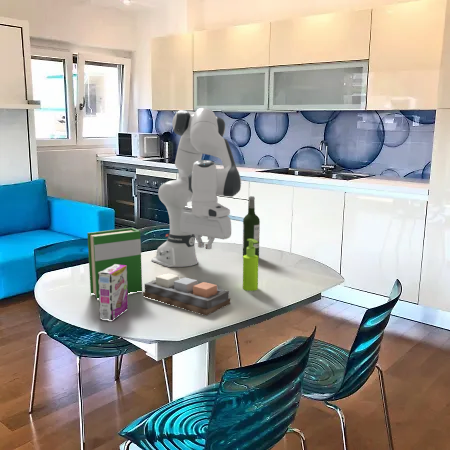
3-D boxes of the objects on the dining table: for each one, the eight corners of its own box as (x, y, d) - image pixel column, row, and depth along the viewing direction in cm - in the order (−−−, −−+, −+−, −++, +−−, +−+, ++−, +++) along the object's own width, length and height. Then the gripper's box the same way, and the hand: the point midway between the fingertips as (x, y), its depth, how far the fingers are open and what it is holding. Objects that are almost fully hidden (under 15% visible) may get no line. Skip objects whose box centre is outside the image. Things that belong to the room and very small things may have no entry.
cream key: (156, 285, 182) (155, 276, 181) (167, 281, 187) (166, 273, 186) (167, 289, 178) (167, 279, 178) (178, 284, 183) (178, 275, 182)
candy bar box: (112, 322, 158) (110, 273, 155) (99, 320, 160) (96, 272, 156) (129, 310, 169) (127, 264, 165) (116, 308, 170) (114, 263, 167)
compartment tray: (142, 297, 181) (142, 284, 180) (168, 287, 192) (168, 275, 191) (206, 315, 164) (206, 301, 163) (230, 303, 175) (230, 290, 174)
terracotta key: (193, 295, 171) (193, 286, 171) (203, 291, 176) (203, 281, 175) (206, 299, 168) (206, 289, 167) (217, 294, 173) (217, 285, 172)
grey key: (174, 290, 177) (173, 281, 176) (184, 286, 181) (184, 277, 181) (186, 294, 173) (186, 284, 172) (197, 289, 178) (197, 280, 177)
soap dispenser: (248, 292, 187) (249, 242, 183) (240, 287, 193) (240, 238, 189) (262, 290, 189) (262, 240, 185) (252, 285, 195) (253, 236, 191)
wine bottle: (259, 260, 231) (260, 197, 225) (242, 260, 232) (243, 197, 226) (258, 256, 239) (259, 195, 233) (242, 256, 239) (243, 195, 233)
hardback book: (97, 301, 177) (94, 236, 173) (90, 295, 184) (87, 232, 179) (142, 292, 187) (140, 231, 182) (134, 286, 193) (132, 227, 188)
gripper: (175, 206, 169) (176, 245, 172) (222, 213, 158) (222, 254, 160) (187, 204, 174) (187, 242, 177) (234, 210, 163) (233, 250, 165)
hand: (204, 248), depth 169 cm, fingers closed
